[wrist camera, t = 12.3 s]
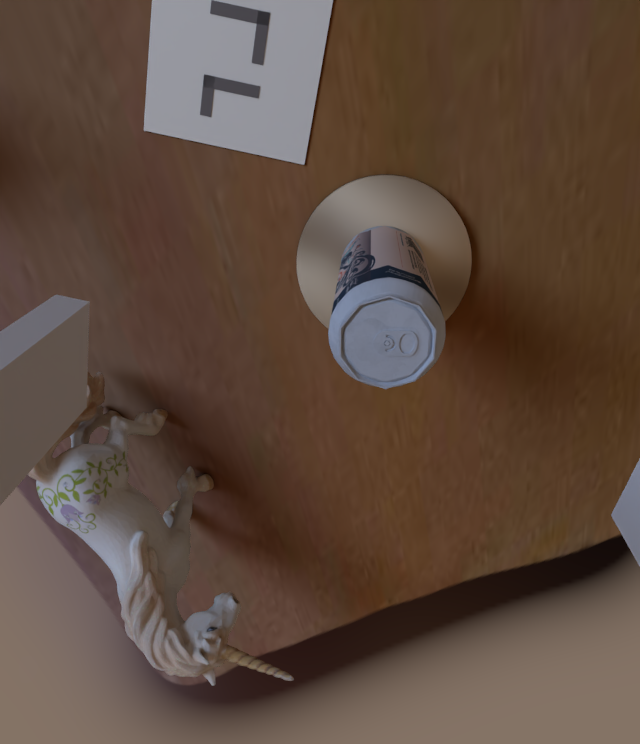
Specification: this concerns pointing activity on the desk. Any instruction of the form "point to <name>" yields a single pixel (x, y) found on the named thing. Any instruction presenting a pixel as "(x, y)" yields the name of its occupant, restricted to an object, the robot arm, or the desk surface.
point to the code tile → (237, 73)
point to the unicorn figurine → (139, 541)
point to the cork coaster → (383, 208)
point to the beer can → (385, 310)
